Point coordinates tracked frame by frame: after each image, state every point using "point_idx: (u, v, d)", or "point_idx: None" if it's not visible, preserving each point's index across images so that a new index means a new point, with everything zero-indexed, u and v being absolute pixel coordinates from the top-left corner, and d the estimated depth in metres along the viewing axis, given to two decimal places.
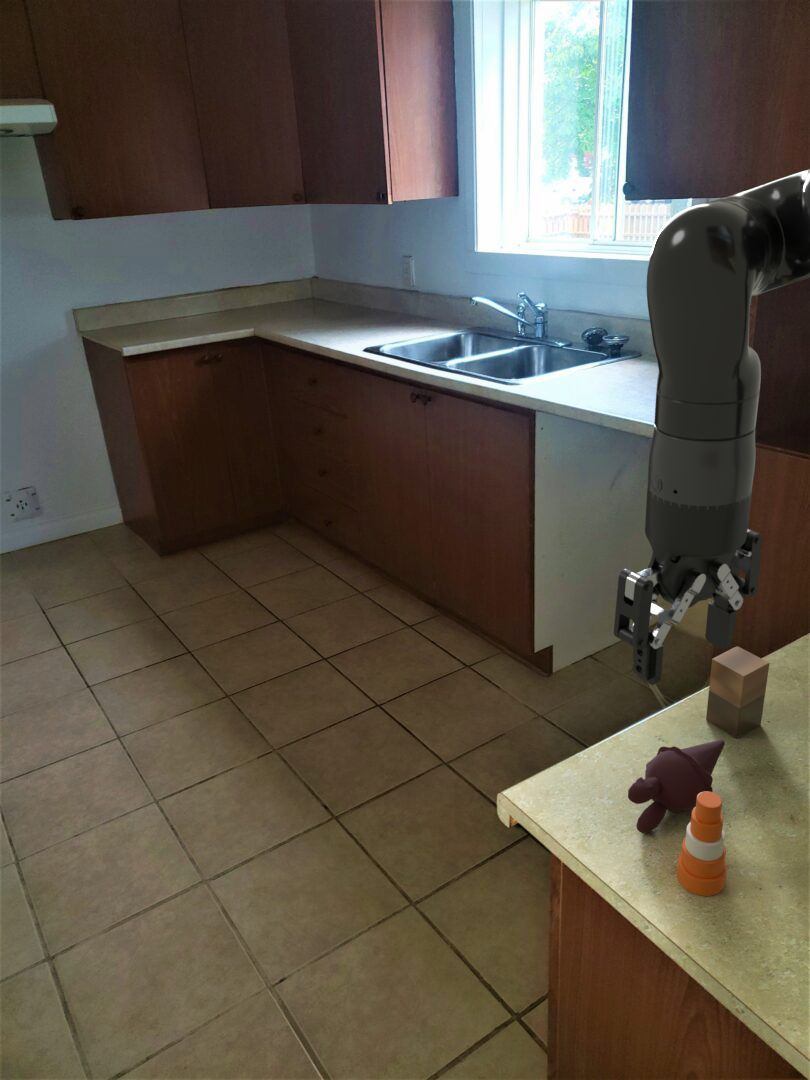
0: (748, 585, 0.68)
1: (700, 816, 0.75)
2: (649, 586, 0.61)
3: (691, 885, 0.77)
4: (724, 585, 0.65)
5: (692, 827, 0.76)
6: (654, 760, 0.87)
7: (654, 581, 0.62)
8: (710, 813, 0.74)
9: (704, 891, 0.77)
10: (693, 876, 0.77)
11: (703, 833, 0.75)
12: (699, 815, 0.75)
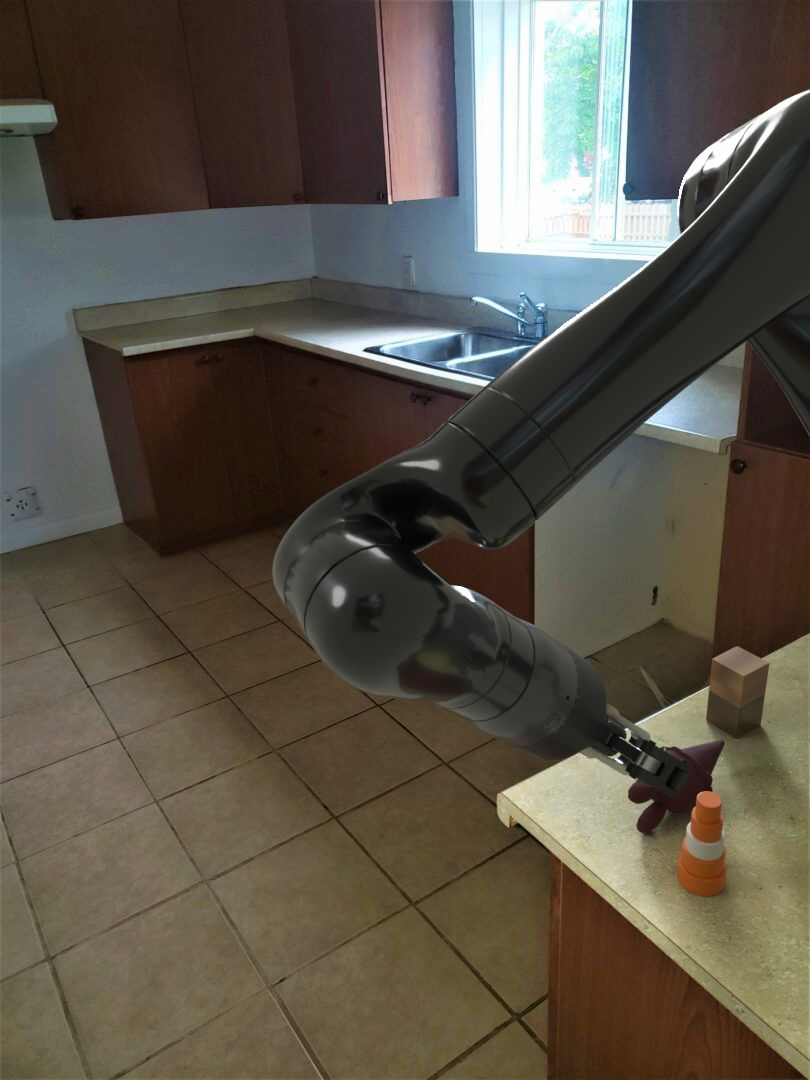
0: None
1: (700, 816, 0.75)
2: (651, 740, 0.53)
3: (691, 885, 0.77)
4: None
5: (692, 827, 0.76)
6: None
7: (629, 742, 0.54)
8: (710, 813, 0.74)
9: (704, 891, 0.77)
10: (693, 876, 0.77)
11: (703, 833, 0.75)
12: (699, 815, 0.75)
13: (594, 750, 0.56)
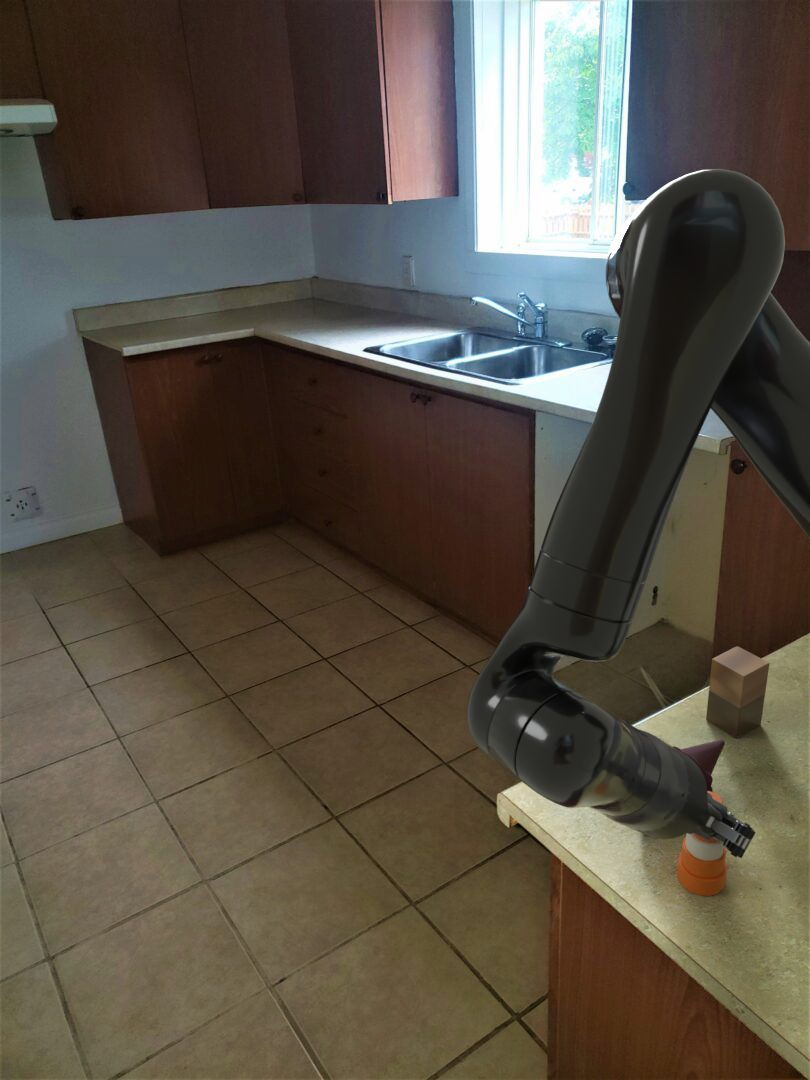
0: None
1: None
2: (749, 826, 0.67)
3: (691, 884, 0.77)
4: None
5: None
6: None
7: (726, 825, 0.68)
8: None
9: (704, 891, 0.77)
10: (693, 875, 0.77)
11: None
12: None
13: None
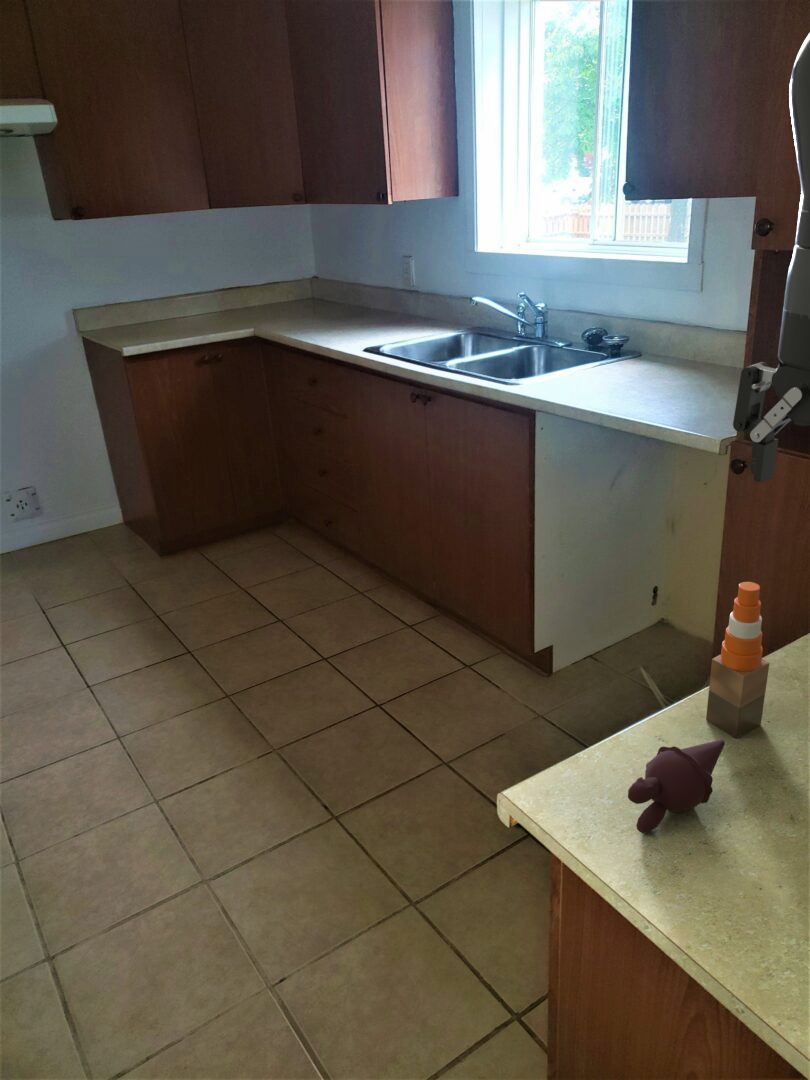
0: (760, 413, 0.74)
1: (742, 600, 0.91)
2: None
3: (733, 662, 0.94)
4: None
5: (735, 612, 0.93)
6: (654, 760, 0.87)
7: None
8: (750, 596, 0.91)
9: (744, 667, 0.93)
10: (735, 654, 0.93)
11: (744, 614, 0.92)
12: (741, 599, 0.92)
13: None
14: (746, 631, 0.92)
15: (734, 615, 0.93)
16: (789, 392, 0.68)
